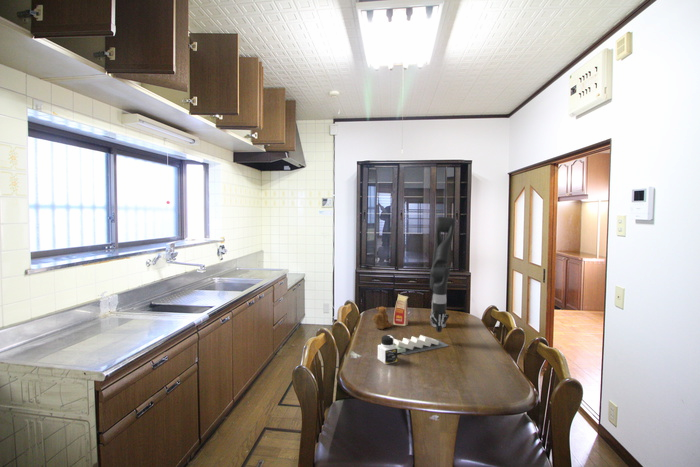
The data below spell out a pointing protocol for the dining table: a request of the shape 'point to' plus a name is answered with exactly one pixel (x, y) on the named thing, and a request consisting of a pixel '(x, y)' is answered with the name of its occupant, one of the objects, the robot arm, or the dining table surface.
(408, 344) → the domino
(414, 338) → the domino
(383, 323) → the stuffed squirrel
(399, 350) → the domino
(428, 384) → the dining table surface
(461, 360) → the dining table surface
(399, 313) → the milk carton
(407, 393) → the dining table surface
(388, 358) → the medicine bottle
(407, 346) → the domino
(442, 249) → the robot arm
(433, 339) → the domino
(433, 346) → the runner mat
